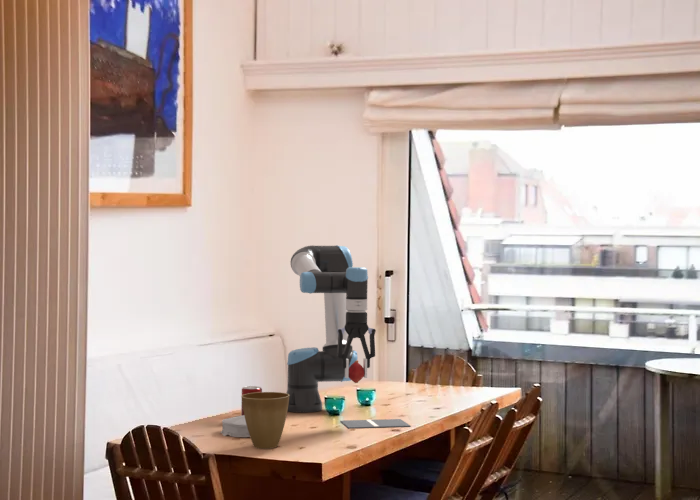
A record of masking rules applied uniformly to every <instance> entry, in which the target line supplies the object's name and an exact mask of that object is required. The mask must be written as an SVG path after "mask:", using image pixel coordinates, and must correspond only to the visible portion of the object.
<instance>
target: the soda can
mask: <svg viewBox="0 0 700 500" xmlns="http://www.w3.org/2000/svg"><path fill="white" fill-rule="evenodd" d="M257 392H263V388H262V387H261V386H256V385H254V386H253V385H252V386H251V385H250V386H248V385H247V386H243V387H242V388H241V396H242V395H244V394H248V393H257ZM240 406H241V409H240V410H241V411H240V412H241V413H240V414H241V415H240V416H242V415H244V411H243V405H242V400H241V405H240Z"/></svg>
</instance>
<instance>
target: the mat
mask: <svg viewBox="0 0 700 500" xmlns="http://www.w3.org/2000/svg"><path fill="white" fill-rule="evenodd" d="M340 423H341V424H342V425H344V426H345V427H346V428H347V429H350V430H351V429H374V428H375V429H376V428H378V429H380V428H383V429H384V428H409V427H411V426H412V425H410V424H409V423H408V422H406V421H405V420H403V419H402V418H388V419H386V418H385V419H353V420H352V419H351V420H349V419H347V420H343V419H342V420H340Z"/></svg>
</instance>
